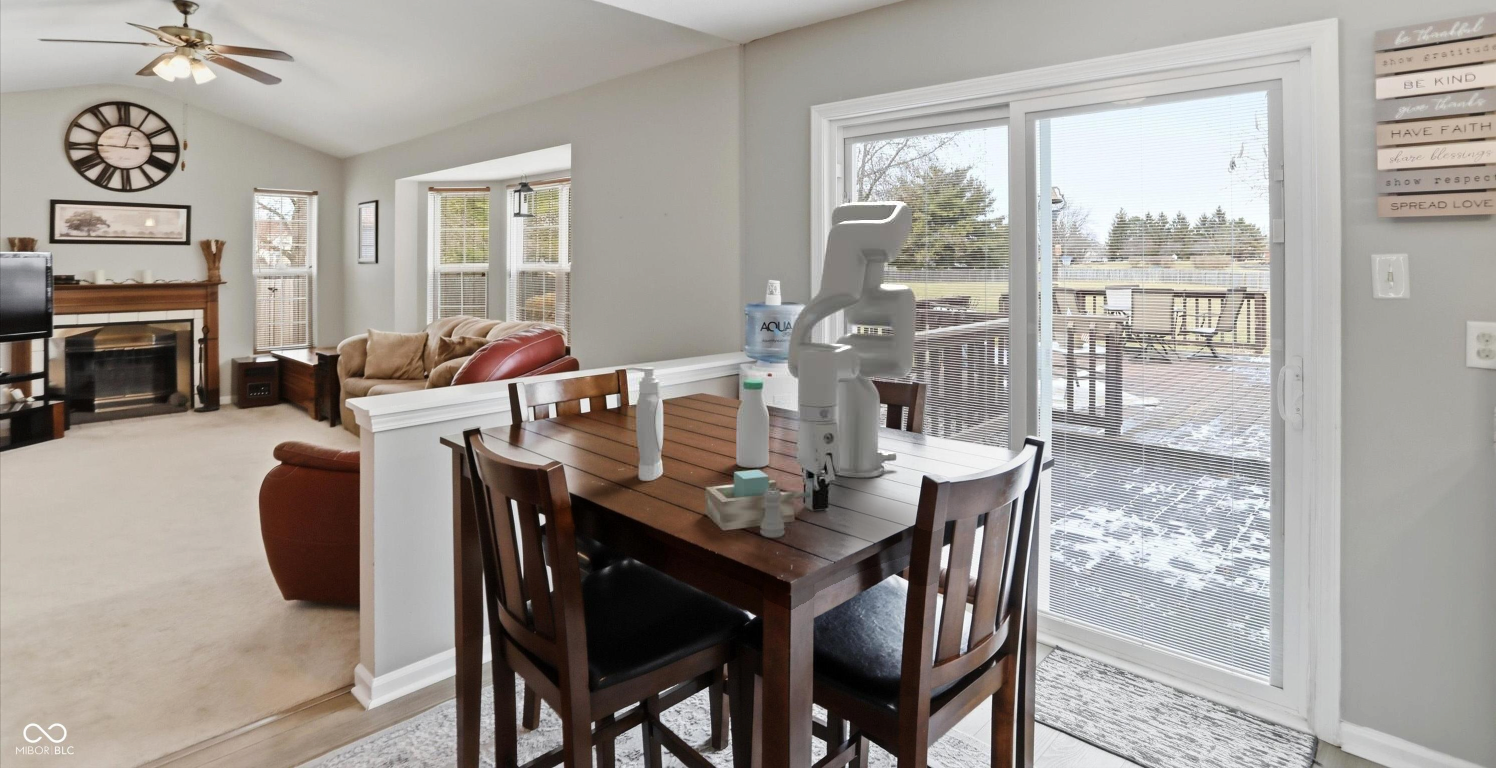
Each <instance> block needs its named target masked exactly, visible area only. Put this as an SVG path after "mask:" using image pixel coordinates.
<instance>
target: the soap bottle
mask: <svg viewBox="0 0 1496 768" xmlns="http://www.w3.org/2000/svg"><path fill="white" fill-rule="evenodd" d="M625 369H626V371H632V370H634V371H637V372H638V371H639V372H642V373H643V374H644V376H642V378H641V379H642V380H639V381H638V382H639V384H638V385H639V391H638V392H639V394H638V398H637V402H636V406H635V407H636V408H635V429H636V430H635V431H636V432H635V433H636V442H637V449H638V455H639V463H638V475H637V476H638V479H639V480H640V481H642V482H651V481H654V480H657V479H658V478H660V477H661V476H663V473H664V470H663V461H662V460H663V459H662V458H661V457H662V449H663V443H664V441H663V440H664V404H663V399H662V398H661V394H660V393H661V392H660V380H659V379H657V376H655V374H654V373H655V370H654V369H656V368H655V367H652V366H649V367H648V366H647V367H638V366H631V367H626V368H625Z"/></svg>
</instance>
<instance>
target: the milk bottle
mask: <svg viewBox="0 0 1496 768" xmlns="http://www.w3.org/2000/svg"><path fill="white" fill-rule="evenodd" d="M742 384H743V386H742V387H743V391H744V392H743V398H742V400H741V403H740V405H739V408H738V409H737V414H736V456H735V459H736V464H737V465H738V466H739V467H741V468H742V467H743V468H749V469H753V468H757V469H759V468H763V467H767V466H768V465H769V463H770V415H769V410H768V408H767V405H766V403H765V400H764V397H763V388H764V381H762V380H759V379H747V380H744V381H743V383H742Z"/></svg>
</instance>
